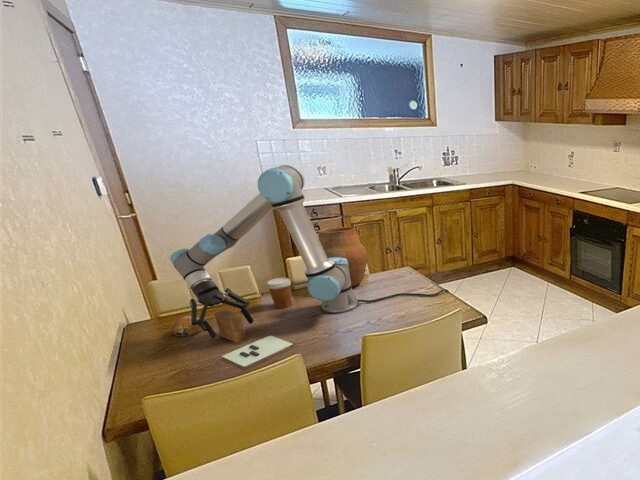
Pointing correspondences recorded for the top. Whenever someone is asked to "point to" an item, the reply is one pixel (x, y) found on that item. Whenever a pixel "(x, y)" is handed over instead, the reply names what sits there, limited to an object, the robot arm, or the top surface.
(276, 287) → the disposable coffee cup
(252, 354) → the smudge
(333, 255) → the pot
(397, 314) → the top surface
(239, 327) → the eraser
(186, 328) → the bread roll
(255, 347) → the smudge
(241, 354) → the smudge
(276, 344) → the wipe board
